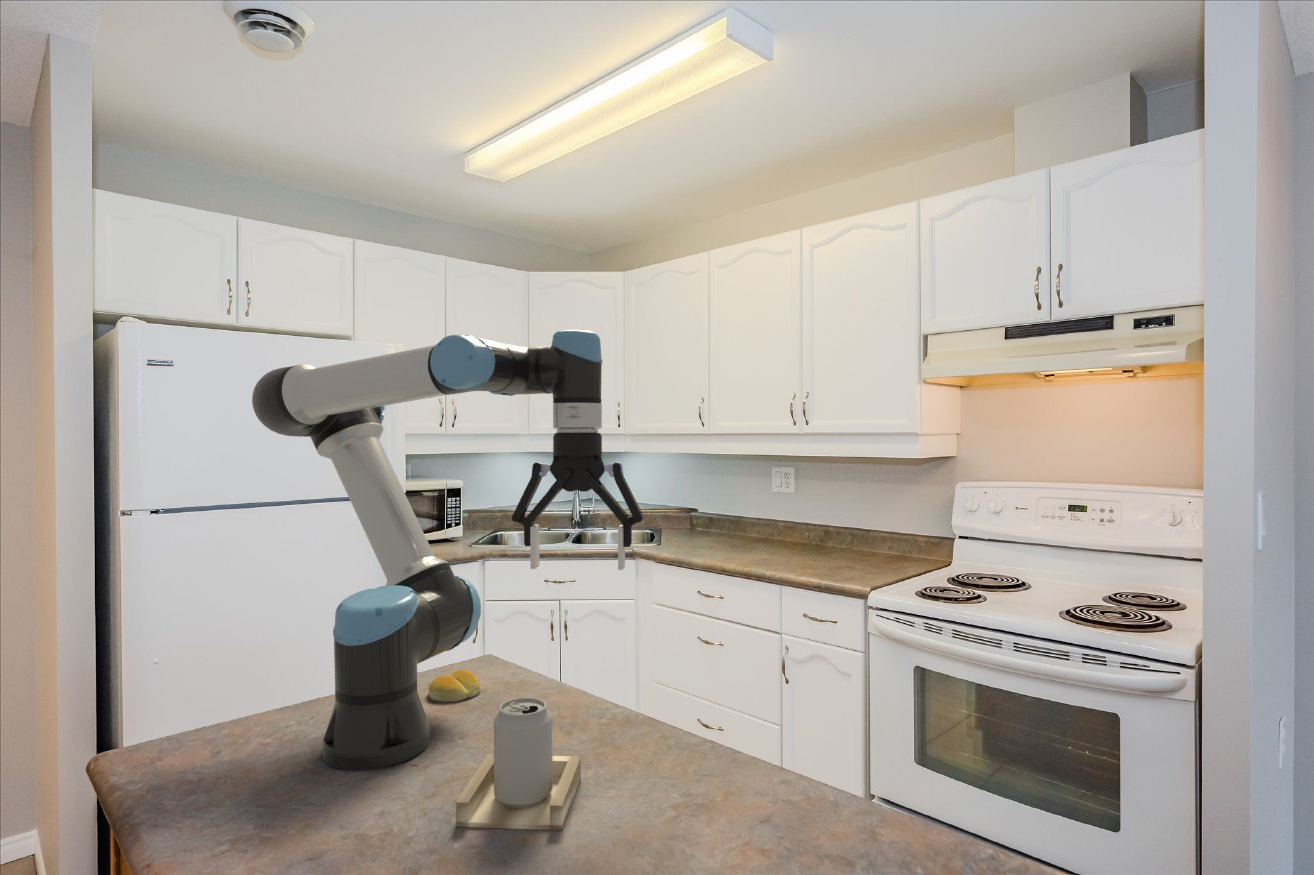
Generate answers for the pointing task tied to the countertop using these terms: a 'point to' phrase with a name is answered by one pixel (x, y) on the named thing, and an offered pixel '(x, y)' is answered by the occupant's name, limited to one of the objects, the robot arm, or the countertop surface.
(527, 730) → the can
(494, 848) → the countertop surface
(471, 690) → the bread roll
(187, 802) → the countertop surface
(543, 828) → the can rest
